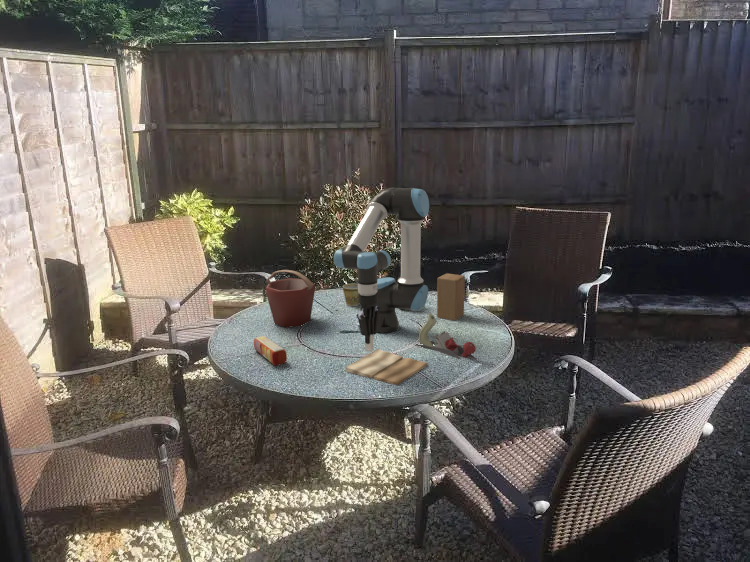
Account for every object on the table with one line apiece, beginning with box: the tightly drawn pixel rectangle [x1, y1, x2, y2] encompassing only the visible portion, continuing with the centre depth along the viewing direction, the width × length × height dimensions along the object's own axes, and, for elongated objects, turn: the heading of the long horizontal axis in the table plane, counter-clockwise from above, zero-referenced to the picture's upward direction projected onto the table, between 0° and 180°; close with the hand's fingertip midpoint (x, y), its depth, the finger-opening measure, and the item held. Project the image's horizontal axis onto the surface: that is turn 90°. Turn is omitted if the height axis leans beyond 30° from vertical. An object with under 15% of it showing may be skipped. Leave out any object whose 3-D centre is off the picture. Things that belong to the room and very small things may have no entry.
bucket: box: [265, 269, 316, 328], centre depth 300 cm, size 24×22×25 cm
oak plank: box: [374, 357, 428, 386], centre depth 241 cm, size 10×22×2 cm, turn 146°
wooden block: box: [436, 272, 466, 321], centre depth 304 cm, size 10×10×20 cm
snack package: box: [253, 335, 288, 366], centre depth 259 cm, size 21×7×7 cm, turn 32°
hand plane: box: [415, 313, 478, 361], centre depth 261 cm, size 7×31×15 cm, turn 42°
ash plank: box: [345, 348, 404, 379], centre depth 247 cm, size 13×22×2 cm, turn 146°
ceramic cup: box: [342, 283, 360, 307], centre depth 327 cm, size 13×10×10 cm
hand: (369, 350), depth 248 cm, fingers closed
